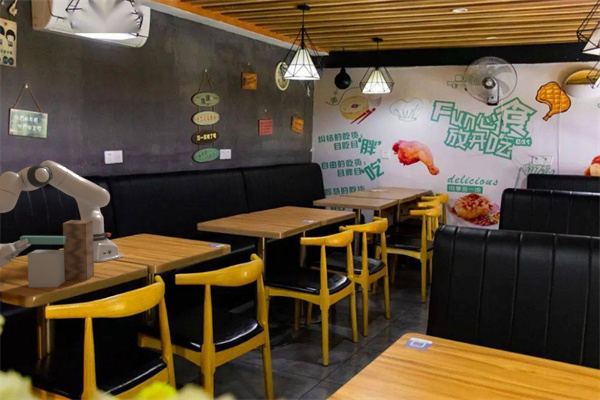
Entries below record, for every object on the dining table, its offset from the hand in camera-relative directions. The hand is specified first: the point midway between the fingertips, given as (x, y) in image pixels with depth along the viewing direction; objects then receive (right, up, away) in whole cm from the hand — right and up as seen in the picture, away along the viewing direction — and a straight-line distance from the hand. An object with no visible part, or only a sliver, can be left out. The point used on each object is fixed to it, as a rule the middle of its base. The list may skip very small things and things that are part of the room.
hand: (30, 238), depth 242 cm
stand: (+15, -19, +15) cm, 29 cm away
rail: (+5, -2, 0) cm, 6 cm away
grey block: (+6, -20, +3) cm, 21 cm away
